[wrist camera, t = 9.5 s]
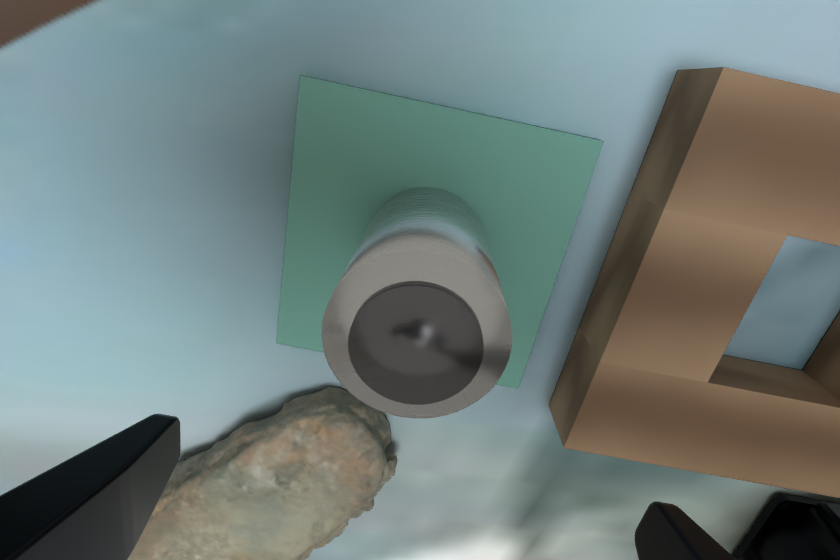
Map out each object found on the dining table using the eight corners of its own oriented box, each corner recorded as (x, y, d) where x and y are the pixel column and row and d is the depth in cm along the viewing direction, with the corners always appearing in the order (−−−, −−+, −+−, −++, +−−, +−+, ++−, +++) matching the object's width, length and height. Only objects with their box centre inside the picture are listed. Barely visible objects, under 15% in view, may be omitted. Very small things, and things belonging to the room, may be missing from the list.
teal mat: (516, 382, 23) (517, 388, 23) (279, 338, 23) (276, 343, 22) (599, 139, 18) (603, 141, 18) (303, 75, 18) (299, 75, 17)
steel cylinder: (470, 310, 21) (487, 441, 13) (358, 289, 21) (309, 409, 13) (499, 200, 19) (538, 278, 11) (375, 176, 19) (328, 238, 11)
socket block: (839, 459, 24) (891, 507, 22) (548, 405, 24) (563, 447, 21) (1062, 157, 18) (1174, 170, 15) (677, 70, 17) (723, 67, 15)
